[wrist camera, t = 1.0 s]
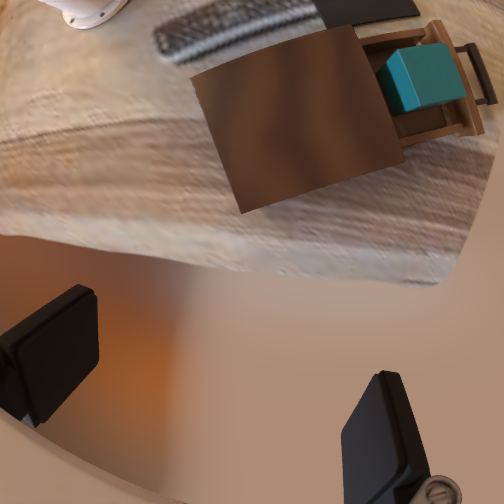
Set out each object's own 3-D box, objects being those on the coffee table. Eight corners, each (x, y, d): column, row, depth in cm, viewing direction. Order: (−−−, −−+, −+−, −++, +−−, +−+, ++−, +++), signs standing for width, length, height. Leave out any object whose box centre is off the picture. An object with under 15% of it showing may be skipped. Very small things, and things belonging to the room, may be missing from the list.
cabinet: (343, 46, 28) (351, 23, 22) (387, 160, 31) (405, 162, 25) (209, 91, 32) (189, 78, 26) (251, 203, 35) (240, 214, 29)
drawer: (453, 30, 24) (470, 17, 19) (490, 128, 27) (512, 126, 22) (308, 58, 28) (309, 43, 24) (350, 166, 31) (358, 168, 27)
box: (376, 72, 27) (397, 49, 19) (416, 64, 26) (445, 41, 18) (393, 117, 28) (420, 106, 20) (433, 107, 27) (468, 96, 19)
